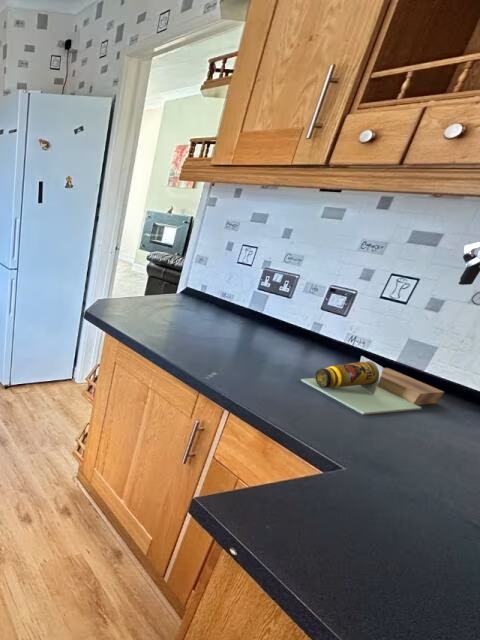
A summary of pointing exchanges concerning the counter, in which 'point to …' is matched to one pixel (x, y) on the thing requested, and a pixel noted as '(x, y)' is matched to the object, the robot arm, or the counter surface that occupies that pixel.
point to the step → (408, 388)
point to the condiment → (351, 375)
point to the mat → (365, 398)
